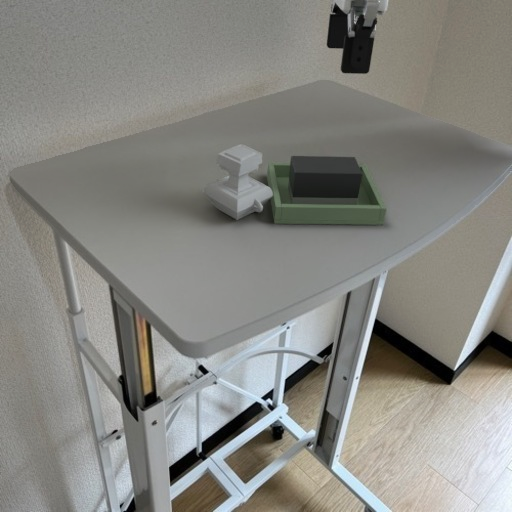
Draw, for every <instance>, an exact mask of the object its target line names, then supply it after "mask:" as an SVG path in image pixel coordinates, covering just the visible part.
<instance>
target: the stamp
mask: <svg viewBox="0 0 512 512" xmlns="http://www.w3.org/2000/svg"><path fill="white" fill-rule="evenodd" d="M216 164H218V166H219V168H220V169H221V170H222V171H223V170H224V171H226V172H227V173H228V175H226V176H224V177H221V178H219V179H216V180H214V181H212V182H209V183H207V184H206V185H205V186H204V187H203V191H202V193H203V194H204V196H205V198H207V199H208V201H209V202H211V204H212V205H213V207H215V208H216V209H217V210H220V211H221V212H223V213H224V214H226V215H228V216H229V217H231V218H233V219H234V220H235V221H238V220H240V219H242V218H244V217H246V216H248V215H251V214H252V213H254V212H256V213H262V212H263V209H264V205H265V204H266V203H267V202H269V201H270V198H271V197H272V196H273V192H272V190H271V188H270V187H268V185H267V184H264V183H263V182H261V181H258V180H257V179H255V178H253V177H251V176H249V175H250V173H253V172H256V171H257V170H258V169H259V168H260V165H261V164H263V152H260V151H258V150H255V149H253V148H252V147H249V146H247V145H244V144H242V143H239V144H237V145H235V146H232V147H230V148H228V149H225V150H223V151H221V152H219V153H217V158H216Z"/></svg>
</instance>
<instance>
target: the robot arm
mask: <svg viewBox="0 0 512 512" xmlns="http://www.w3.org/2000/svg"><path fill="white" fill-rule="evenodd" d="M388 8H389V0H332V1H331V5H330V13H329V19H328V26H327V27H328V28H327V37H326V47H327V48H328V49H342V55H341V62H340V63H341V64H340V71H341V73H343V74H352V75H353V74H354V75H355V74H358V75H359V74H361V75H362V74H363V75H364V74H365V75H366V74H368V73H369V72H370V69H371V62H372V56H373V49H374V43H375V39H376V38H375V37H376V30H377V27H376V26H377V24H378V17H377V15H378V16H382V15H384V14H385V13H386V12H387V11H388Z"/></svg>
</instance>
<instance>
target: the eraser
mask: <svg viewBox="0 0 512 512" xmlns="http://www.w3.org/2000/svg"><path fill="white" fill-rule="evenodd" d="M289 163H290V172H289V182H288V189H289V194H290V199H291V203H292V204H322V205H357V201H358V195H359V190H360V184H361V179H362V172H361V170H360V167H359V165H358V164H359V163H358V160H357V158H356V156H355V157H354V156H326V155H325V156H323V155H322V156H320V155H319V156H318V155H291V156H290V162H289Z"/></svg>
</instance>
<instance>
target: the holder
mask: <svg viewBox="0 0 512 512" xmlns="http://www.w3.org/2000/svg"><path fill="white" fill-rule="evenodd" d="M358 165H359V167H360V170H361V172H362V179H361V184H360V190H359V195H358V201H357V205H322V204H292V203H291V199H290V194H289V189H288V182H289V172H290V162H268V163H267V170H266V171H267V174H266V180H267V186H268V187H270V188H271V190H272V192H273V196H272V197H271V198H270V199H269V201H270V205H271V212H272V213H271V214H272V217H273V218H272V219H273V224H275V225H277V224H278V225H356V226H357V225H359V226H360V225H361V226H363V225H364V226H366V225H367V226H368V225H369V226H383V225H384V224H385V218H386V213H387V206H386V204H385V201H384V199H383V197H382V195H381V194H380V191H379V189H378V187H377V185H376V182H375V181H374V178H373V177H372V175H371V173H370V171H369V170H370V169H368V166H367V165H366V164H365V163H361V164H359V163H358Z"/></svg>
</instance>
